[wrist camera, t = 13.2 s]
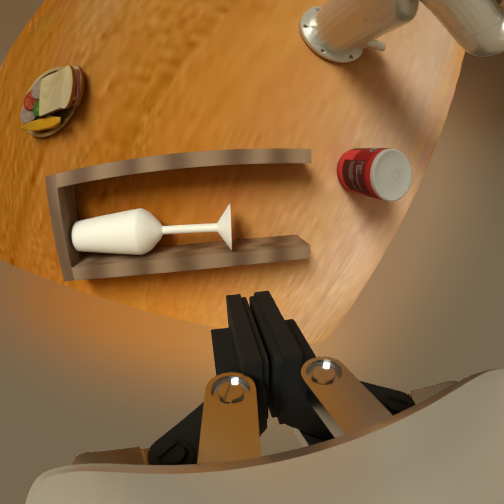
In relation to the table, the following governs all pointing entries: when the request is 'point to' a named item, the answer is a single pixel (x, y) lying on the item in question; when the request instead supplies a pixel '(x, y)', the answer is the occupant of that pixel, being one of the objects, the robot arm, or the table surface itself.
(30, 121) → the toy sandwich meal
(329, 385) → the robot arm
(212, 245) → the walnut U-rest
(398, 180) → the canned food
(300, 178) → the table surface
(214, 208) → the table surface
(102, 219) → the champagne flute
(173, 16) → the table surface
